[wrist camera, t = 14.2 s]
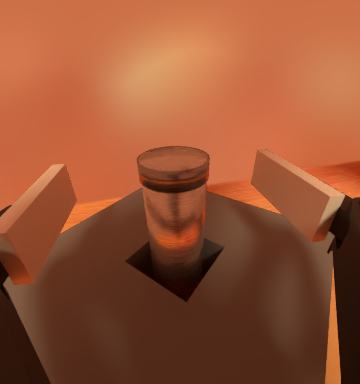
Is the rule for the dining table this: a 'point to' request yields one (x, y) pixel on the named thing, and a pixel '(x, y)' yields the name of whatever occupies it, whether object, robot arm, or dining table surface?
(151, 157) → the steel pin
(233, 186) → the dining table surface
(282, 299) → the block
